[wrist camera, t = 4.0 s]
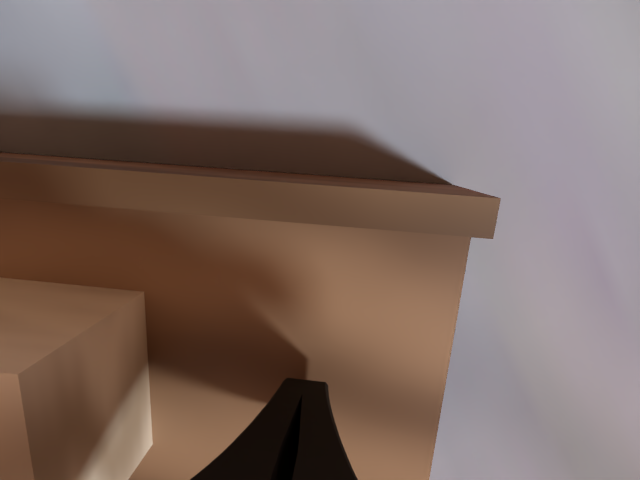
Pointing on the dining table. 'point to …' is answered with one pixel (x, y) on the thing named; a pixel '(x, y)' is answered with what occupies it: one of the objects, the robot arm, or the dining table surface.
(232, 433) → the brown tray with rims
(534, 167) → the dining table surface
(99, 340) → the cream block
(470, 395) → the dining table surface
